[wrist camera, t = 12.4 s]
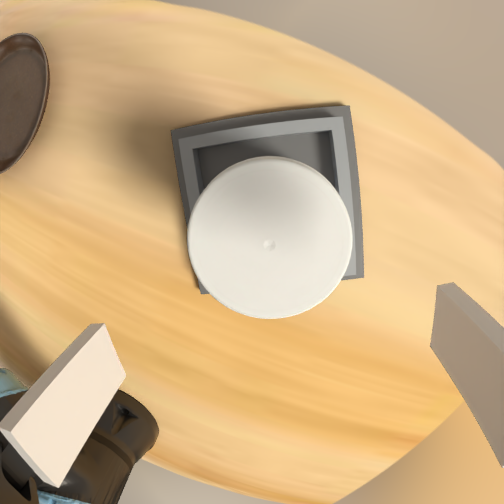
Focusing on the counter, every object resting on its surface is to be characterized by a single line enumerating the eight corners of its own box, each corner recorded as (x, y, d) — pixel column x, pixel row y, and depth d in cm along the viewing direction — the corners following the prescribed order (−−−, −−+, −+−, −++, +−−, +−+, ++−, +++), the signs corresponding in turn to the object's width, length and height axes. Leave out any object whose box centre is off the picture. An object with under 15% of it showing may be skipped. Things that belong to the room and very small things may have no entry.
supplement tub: (232, 254, 33) (197, 328, 19) (217, 163, 30) (165, 172, 16) (325, 244, 31) (357, 314, 18) (316, 150, 29) (348, 147, 15)
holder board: (203, 290, 35) (196, 302, 33) (173, 130, 30) (163, 129, 27) (361, 274, 33) (368, 284, 30) (347, 107, 28) (354, 102, 25)
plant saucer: (82, 38, 27) (68, 32, 24) (38, 188, 34) (22, 192, 31) (0, 38, 27) (-13, 35, 23) (-32, 156, 33) (-45, 158, 30)
